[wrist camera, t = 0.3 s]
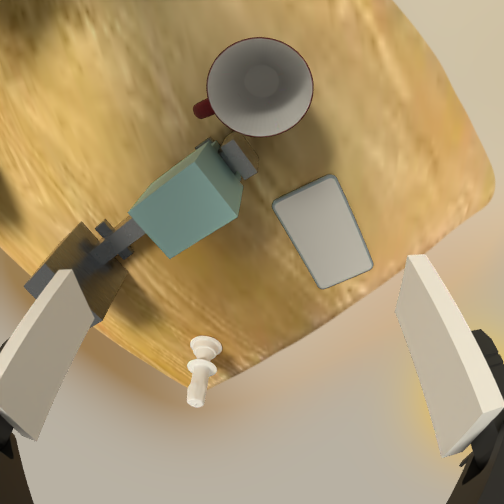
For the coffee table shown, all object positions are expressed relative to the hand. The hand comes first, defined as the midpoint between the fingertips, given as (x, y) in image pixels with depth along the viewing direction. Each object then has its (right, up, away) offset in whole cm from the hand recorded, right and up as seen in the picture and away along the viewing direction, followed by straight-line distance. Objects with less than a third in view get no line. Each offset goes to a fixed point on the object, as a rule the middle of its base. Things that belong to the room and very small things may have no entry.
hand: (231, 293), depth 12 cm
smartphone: (+10, +4, +29) cm, 31 cm away
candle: (-7, -14, +41) cm, 43 cm away
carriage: (-5, +10, +24) cm, 27 cm away
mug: (+1, +19, +19) cm, 26 cm away
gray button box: (-23, +1, +32) cm, 39 cm away
